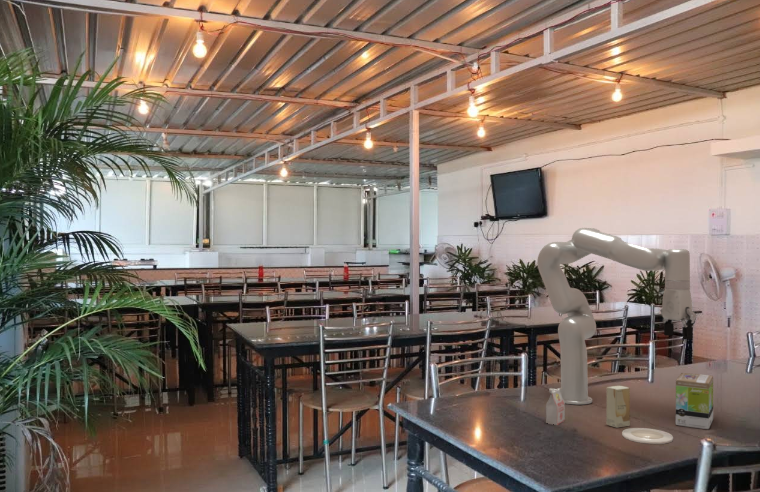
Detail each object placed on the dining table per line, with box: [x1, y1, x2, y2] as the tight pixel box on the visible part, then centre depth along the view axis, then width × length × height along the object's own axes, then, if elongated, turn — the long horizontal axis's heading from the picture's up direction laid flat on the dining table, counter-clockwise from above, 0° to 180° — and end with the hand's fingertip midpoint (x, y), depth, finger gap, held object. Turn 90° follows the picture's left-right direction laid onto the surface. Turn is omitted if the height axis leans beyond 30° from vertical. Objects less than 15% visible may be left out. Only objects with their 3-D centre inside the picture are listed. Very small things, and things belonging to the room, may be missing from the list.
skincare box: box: [606, 385, 631, 429], centre depth 200 cm, size 6×4×12 cm
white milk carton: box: [545, 390, 566, 426], centre depth 205 cm, size 4×7×10 cm, turn 143°
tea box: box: [675, 372, 714, 430], centre depth 203 cm, size 15×10×15 cm, turn 148°
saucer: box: [621, 427, 674, 445], centre depth 187 cm, size 14×14×1 cm
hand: (677, 337), depth 209 cm, fingers open, 9 cm apart
